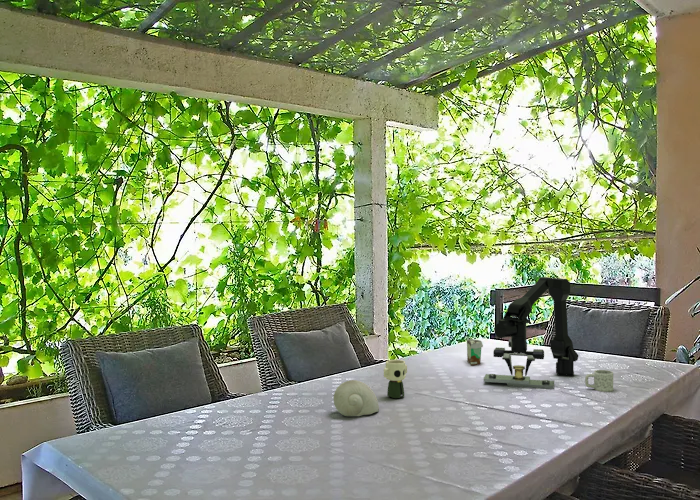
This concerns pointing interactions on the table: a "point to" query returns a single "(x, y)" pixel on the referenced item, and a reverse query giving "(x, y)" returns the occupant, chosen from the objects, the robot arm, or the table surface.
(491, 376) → the plate with square hole
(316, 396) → the table surface
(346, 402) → the seashell
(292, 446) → the table surface
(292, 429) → the table surface
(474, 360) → the food container
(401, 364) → the character mug
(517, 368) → the brass pin
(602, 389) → the mug
